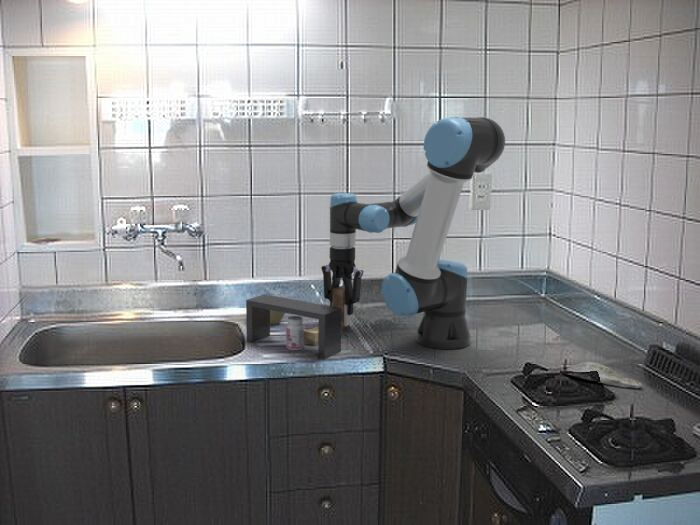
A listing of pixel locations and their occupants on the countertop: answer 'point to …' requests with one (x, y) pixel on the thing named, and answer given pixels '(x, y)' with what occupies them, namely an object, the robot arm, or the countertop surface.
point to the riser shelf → (327, 315)
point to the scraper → (338, 301)
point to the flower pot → (276, 316)
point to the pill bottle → (295, 333)
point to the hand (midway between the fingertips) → (341, 323)
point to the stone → (606, 375)
